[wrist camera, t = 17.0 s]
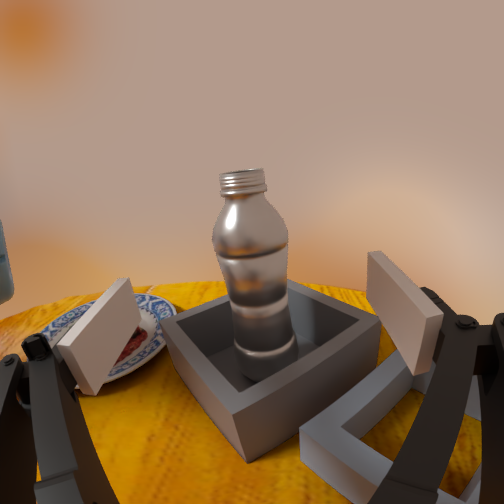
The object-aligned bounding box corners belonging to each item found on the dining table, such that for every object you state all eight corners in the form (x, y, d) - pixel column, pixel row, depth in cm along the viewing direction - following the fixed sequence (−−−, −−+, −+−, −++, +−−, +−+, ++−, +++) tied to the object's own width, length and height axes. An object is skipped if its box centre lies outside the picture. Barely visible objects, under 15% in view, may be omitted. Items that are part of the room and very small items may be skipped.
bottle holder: (300, 460, 19) (299, 427, 17) (406, 369, 26) (413, 332, 25) (438, 556, 7) (470, 539, 5) (519, 420, 14) (542, 382, 12)
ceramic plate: (217, 333, 39) (212, 315, 38) (53, 430, 22) (40, 412, 21) (134, 292, 56) (130, 278, 56) (24, 344, 39) (18, 329, 38)
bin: (175, 369, 32) (158, 320, 30) (282, 320, 40) (277, 274, 38) (247, 463, 19) (231, 414, 17) (375, 372, 27) (382, 318, 25)
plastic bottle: (255, 401, 25) (216, 178, 19) (228, 363, 31) (192, 177, 25) (312, 374, 28) (298, 165, 21) (279, 343, 34) (258, 166, 27)
